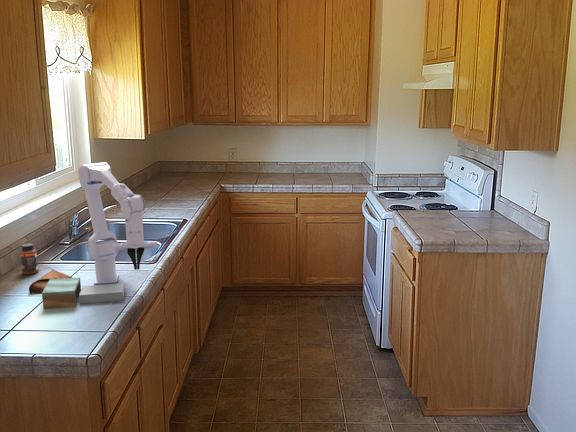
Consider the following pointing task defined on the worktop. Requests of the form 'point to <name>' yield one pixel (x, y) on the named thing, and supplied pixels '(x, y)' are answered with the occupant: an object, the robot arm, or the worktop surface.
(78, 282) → the overhang bridge
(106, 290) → the flat grey cuboid
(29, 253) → the supplement bottle
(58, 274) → the sunglasses case
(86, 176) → the robot arm
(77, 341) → the worktop surface
